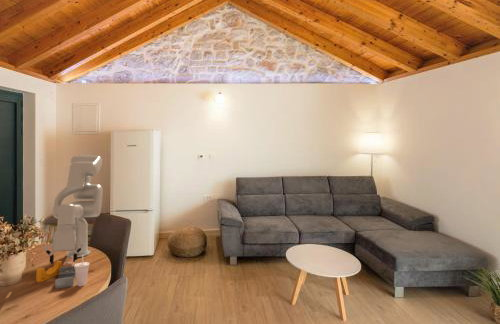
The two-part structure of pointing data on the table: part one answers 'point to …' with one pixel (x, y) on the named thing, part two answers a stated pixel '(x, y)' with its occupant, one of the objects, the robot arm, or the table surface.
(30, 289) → the table surface
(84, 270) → the pink drink cup
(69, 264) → the peach two-stud bar
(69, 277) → the book ends
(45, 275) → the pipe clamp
